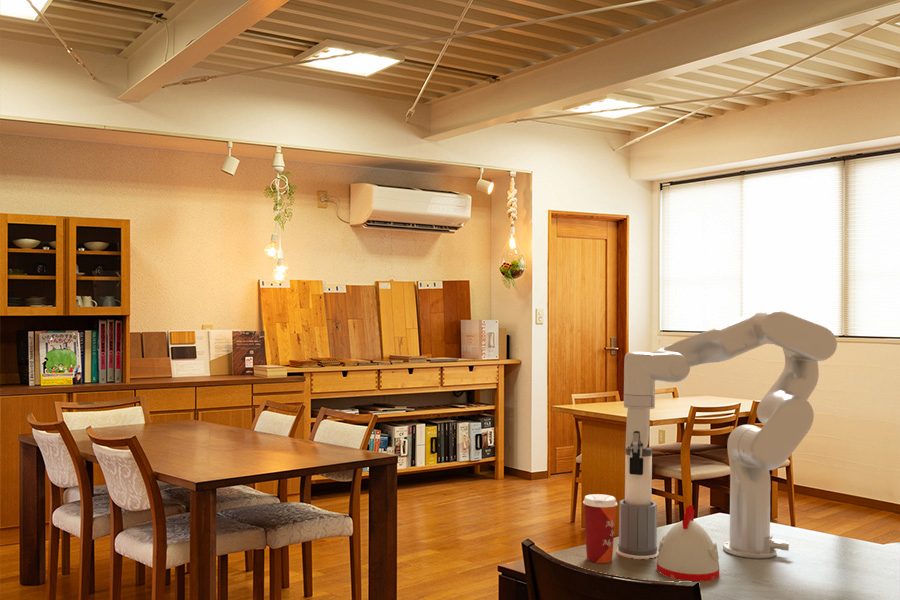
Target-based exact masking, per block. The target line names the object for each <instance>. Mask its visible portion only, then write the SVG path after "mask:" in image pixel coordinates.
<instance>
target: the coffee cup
mask: <svg viewBox="0 0 900 600" xmlns="http://www.w3.org/2000/svg"><path fill="white" fill-rule="evenodd" d="M582 503H583V507H584V509H583V510H584V527H585V531H584V532H585V549H586V560H587V561H588V562H591V563H595V564H610V563H611V562H612V561H613V555H614V542H615V541H614V540H615V539H614V538H615V526H616V525H615V524H616V511H617V506H618V501H617V499H616V497H615V496H613V495H609V494H600V493H597V494H595V493H593V494H591V493H590V494H588V495H587V494H586V495H585V496H584V500H583V501H582Z"/></svg>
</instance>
